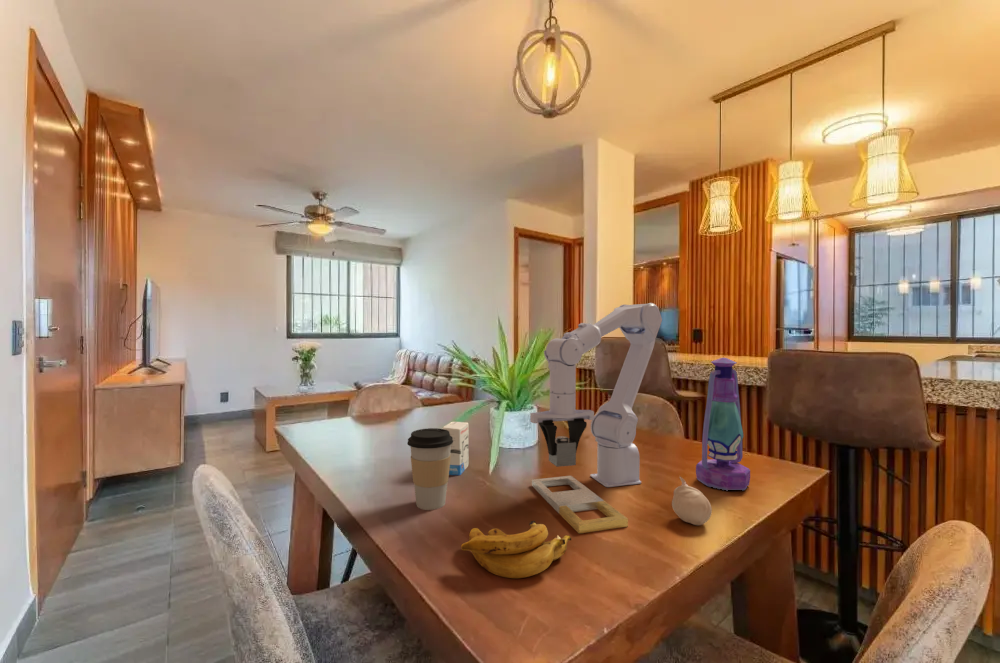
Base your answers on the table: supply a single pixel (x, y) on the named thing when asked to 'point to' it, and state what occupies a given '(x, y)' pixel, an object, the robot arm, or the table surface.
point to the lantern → (723, 432)
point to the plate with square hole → (579, 504)
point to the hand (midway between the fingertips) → (562, 453)
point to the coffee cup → (430, 466)
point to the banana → (515, 550)
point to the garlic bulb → (691, 504)
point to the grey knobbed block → (564, 452)
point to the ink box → (458, 447)
